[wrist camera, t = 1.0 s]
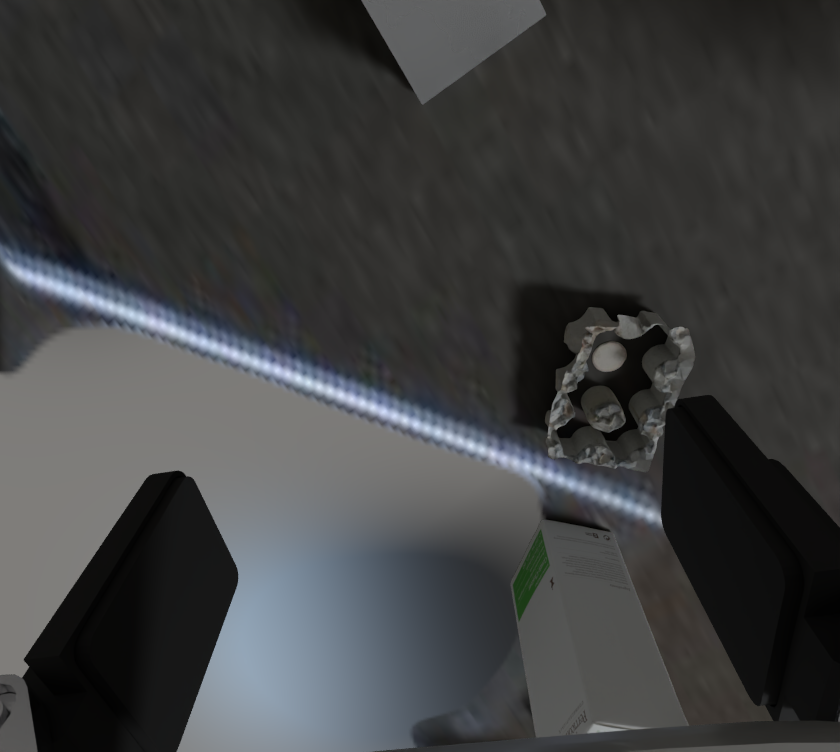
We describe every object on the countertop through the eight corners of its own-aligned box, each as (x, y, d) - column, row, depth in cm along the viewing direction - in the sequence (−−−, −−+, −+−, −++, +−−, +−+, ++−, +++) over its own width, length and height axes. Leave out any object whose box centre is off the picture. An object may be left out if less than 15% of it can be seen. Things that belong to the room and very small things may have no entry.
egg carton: (570, 296, 35) (585, 322, 31) (685, 312, 35) (713, 339, 32) (531, 434, 40) (541, 470, 36) (631, 446, 40) (651, 483, 37)
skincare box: (541, 514, 43) (592, 719, 30) (619, 530, 44) (703, 737, 31) (507, 585, 47) (538, 793, 34) (579, 598, 48) (637, 808, 35)
